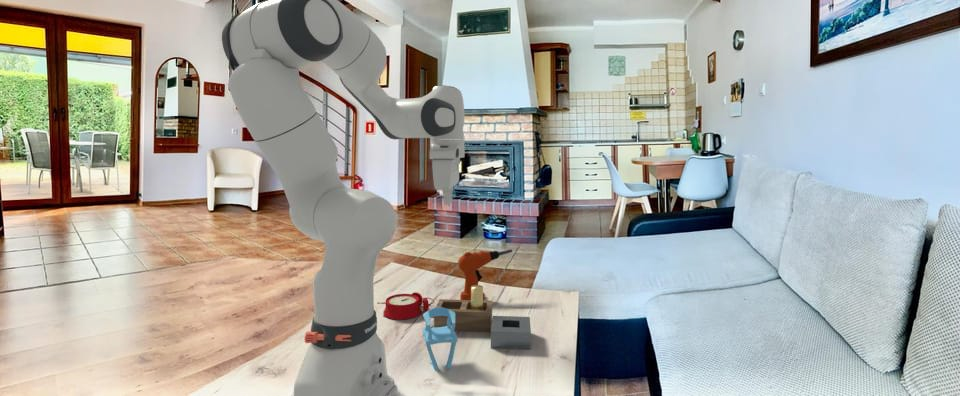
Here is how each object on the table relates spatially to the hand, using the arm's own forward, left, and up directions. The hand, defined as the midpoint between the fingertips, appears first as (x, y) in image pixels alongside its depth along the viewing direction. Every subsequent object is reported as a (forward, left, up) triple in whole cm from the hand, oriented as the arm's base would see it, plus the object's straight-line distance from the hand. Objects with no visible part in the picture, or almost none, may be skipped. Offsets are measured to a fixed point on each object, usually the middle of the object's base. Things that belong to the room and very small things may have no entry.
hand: (448, 203), depth 118 cm
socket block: (-15, -17, -31) cm, 38 cm away
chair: (-26, -2, -31) cm, 41 cm away
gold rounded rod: (-7, -8, -30) cm, 32 cm away
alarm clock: (+3, +12, -32) cm, 34 cm away
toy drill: (+17, -9, -31) cm, 37 cm away
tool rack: (-7, -5, -31) cm, 32 cm away
